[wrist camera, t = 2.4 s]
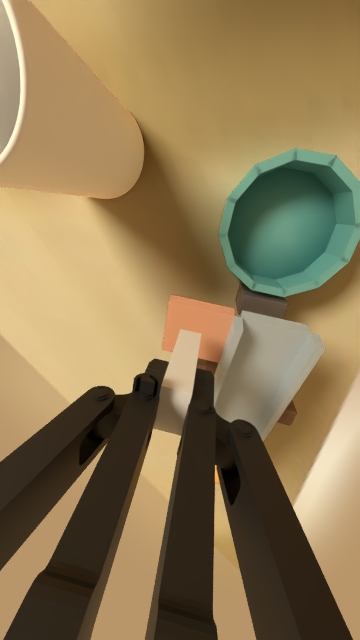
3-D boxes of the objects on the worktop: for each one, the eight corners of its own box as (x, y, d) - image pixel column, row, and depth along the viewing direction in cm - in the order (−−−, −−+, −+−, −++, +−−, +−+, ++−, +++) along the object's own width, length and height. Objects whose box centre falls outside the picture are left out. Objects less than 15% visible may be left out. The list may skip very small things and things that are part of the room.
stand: (208, 275, 27) (204, 298, 20) (310, 297, 27) (345, 329, 19) (177, 407, 35) (166, 459, 28) (256, 427, 34) (266, 485, 27)
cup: (150, 107, 22) (20, -94, 8) (137, 207, 26) (29, 200, 11) (62, 87, 23) (-224, -140, 8) (61, 188, 26) (-142, 159, 11)
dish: (237, 150, 22) (241, 137, 19) (363, 173, 22) (393, 165, 18) (209, 271, 27) (207, 280, 23) (312, 293, 26) (328, 306, 23)
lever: (173, 288, 20) (163, 312, 18) (314, 319, 20) (328, 350, 17) (153, 422, 32) (145, 450, 29) (242, 444, 31) (242, 475, 28)
